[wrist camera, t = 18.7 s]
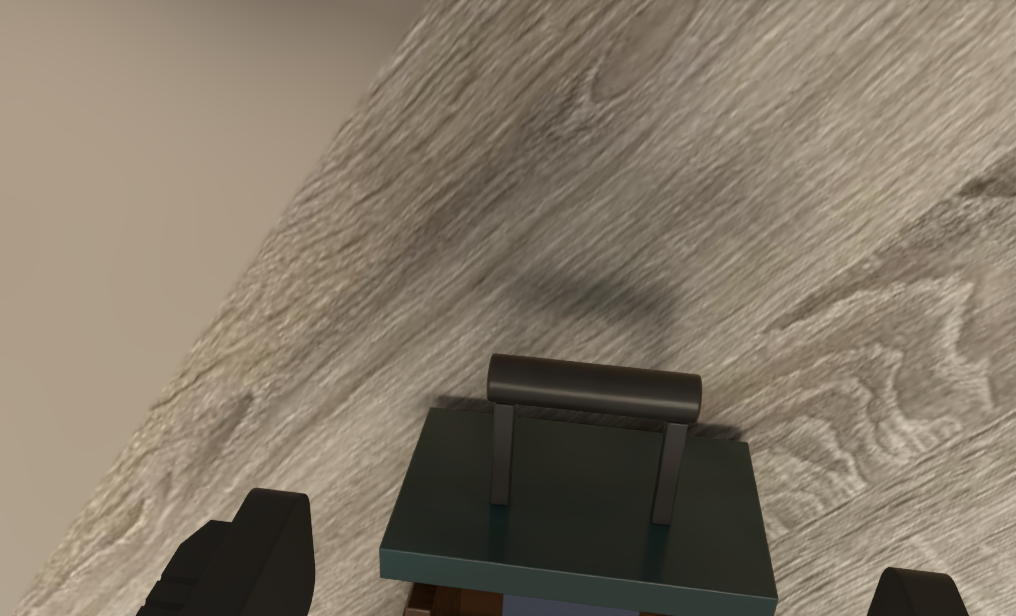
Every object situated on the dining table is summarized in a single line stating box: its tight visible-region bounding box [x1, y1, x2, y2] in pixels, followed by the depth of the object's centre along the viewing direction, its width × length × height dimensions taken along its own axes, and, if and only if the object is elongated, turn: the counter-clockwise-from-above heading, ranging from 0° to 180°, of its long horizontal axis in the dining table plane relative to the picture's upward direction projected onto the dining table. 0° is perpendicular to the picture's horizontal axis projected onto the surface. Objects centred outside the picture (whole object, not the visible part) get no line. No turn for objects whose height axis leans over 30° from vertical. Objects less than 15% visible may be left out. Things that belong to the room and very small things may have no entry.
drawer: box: [379, 353, 778, 616], centre depth 30 cm, size 19×11×7 cm, turn 177°
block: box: [502, 594, 640, 616], centre depth 30 cm, size 4×4×4 cm
